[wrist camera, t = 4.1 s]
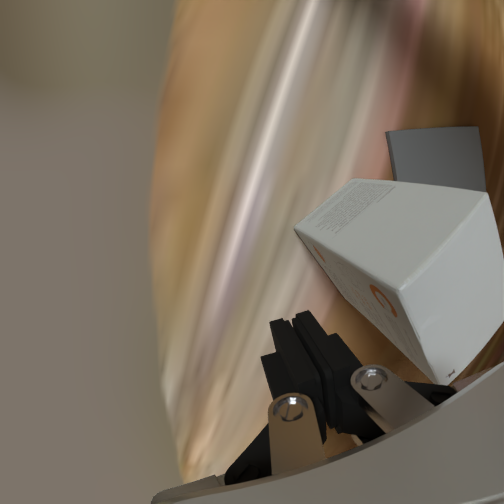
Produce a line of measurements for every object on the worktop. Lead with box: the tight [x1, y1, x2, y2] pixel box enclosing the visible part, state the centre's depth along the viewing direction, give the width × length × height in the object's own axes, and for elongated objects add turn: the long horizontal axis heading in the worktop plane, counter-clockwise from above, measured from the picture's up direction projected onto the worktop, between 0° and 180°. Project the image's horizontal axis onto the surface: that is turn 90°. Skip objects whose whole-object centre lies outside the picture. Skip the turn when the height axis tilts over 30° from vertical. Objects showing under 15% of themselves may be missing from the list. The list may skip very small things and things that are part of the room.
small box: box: [294, 178, 504, 386], centre depth 16 cm, size 8×6×13 cm
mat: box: [385, 126, 486, 192], centre depth 23 cm, size 16×13×1 cm
